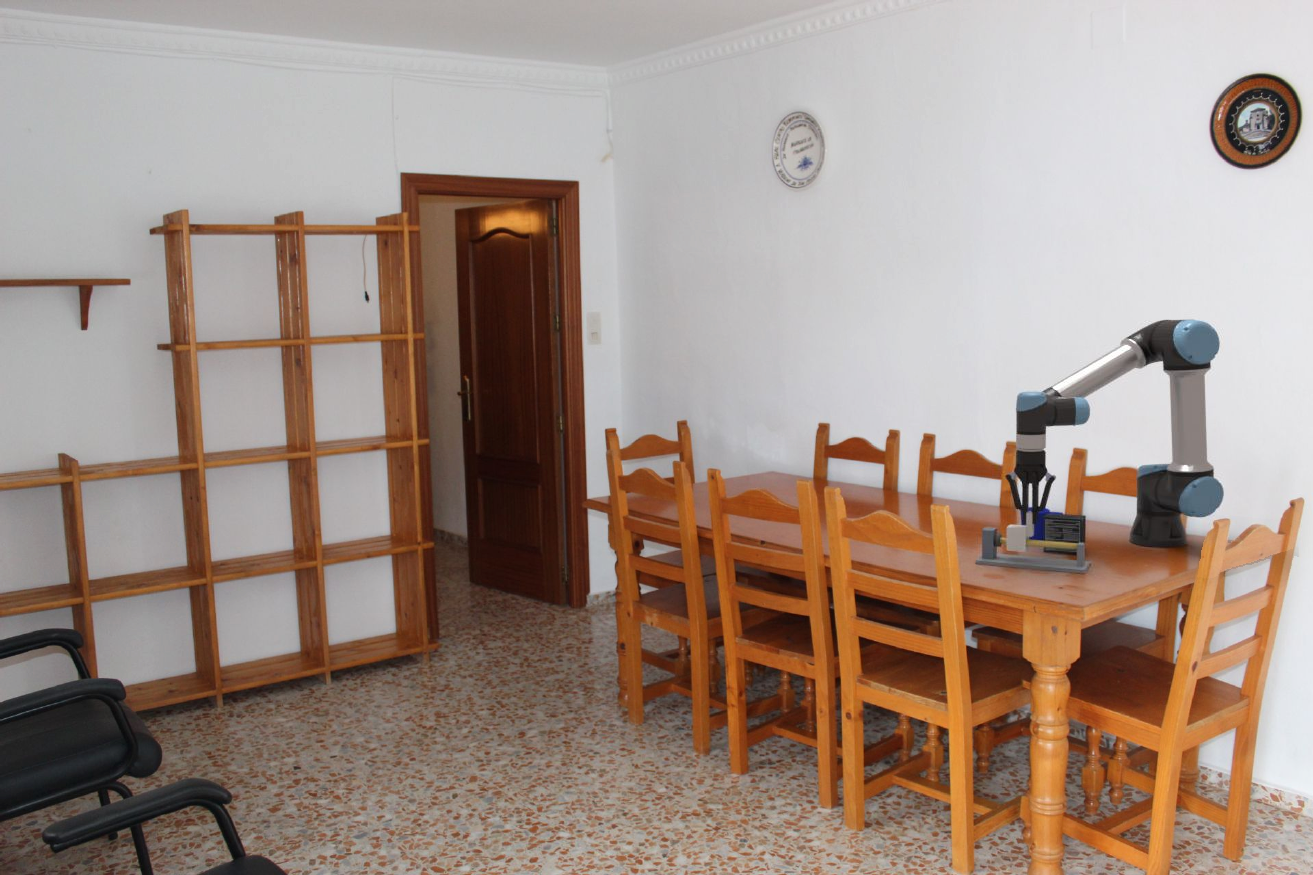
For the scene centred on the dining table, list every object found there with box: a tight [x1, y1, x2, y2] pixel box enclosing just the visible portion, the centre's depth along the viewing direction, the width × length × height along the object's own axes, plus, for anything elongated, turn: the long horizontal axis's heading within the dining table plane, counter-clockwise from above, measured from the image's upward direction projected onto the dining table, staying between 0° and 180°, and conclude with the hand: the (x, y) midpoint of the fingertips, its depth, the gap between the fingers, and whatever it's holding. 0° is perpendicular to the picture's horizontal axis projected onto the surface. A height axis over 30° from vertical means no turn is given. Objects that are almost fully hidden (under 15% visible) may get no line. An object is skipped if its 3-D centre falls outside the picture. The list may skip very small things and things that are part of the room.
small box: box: [1043, 513, 1087, 556], centre depth 299 cm, size 11×6×10 cm, turn 59°
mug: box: [1019, 506, 1064, 541], centre depth 311 cm, size 8×12×10 cm
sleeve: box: [1005, 524, 1030, 553], centre depth 287 cm, size 5×4×6 cm
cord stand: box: [975, 526, 1092, 575], centre depth 285 cm, size 28×10×9 cm, turn 59°
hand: (1030, 535), depth 285 cm, fingers closed
